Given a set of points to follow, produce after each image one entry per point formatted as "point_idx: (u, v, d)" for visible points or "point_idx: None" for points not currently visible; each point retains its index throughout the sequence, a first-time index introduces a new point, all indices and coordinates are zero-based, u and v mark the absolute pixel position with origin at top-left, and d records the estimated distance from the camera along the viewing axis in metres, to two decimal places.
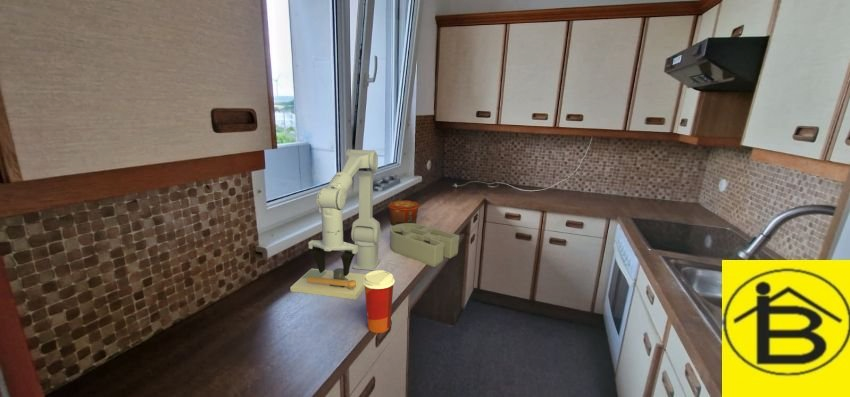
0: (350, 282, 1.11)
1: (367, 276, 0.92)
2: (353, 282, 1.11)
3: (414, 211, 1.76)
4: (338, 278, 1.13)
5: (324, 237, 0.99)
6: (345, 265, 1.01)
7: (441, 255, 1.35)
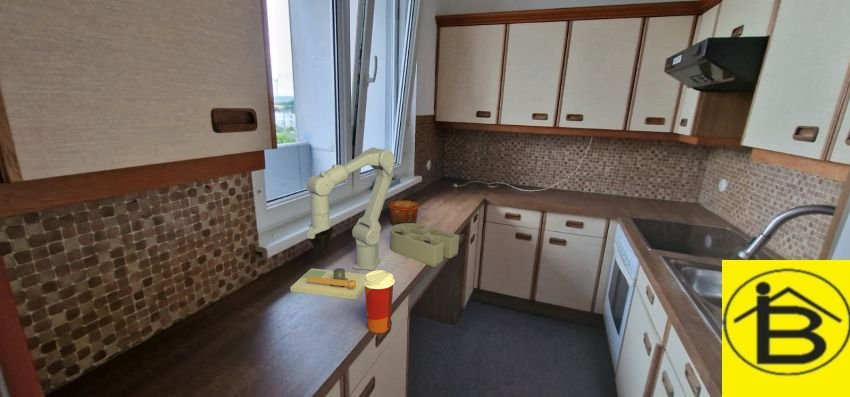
0: (350, 282, 1.11)
1: (367, 276, 0.92)
2: (353, 282, 1.11)
3: (414, 211, 1.76)
4: (338, 278, 1.13)
5: None
6: None
7: (441, 255, 1.35)
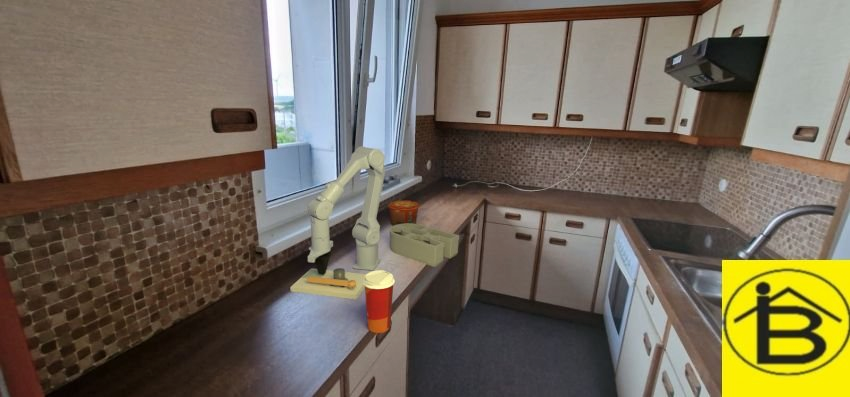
0: (350, 282, 1.11)
1: (367, 276, 0.92)
2: (353, 282, 1.11)
3: (414, 211, 1.76)
4: (338, 278, 1.13)
5: None
6: None
7: (441, 255, 1.35)
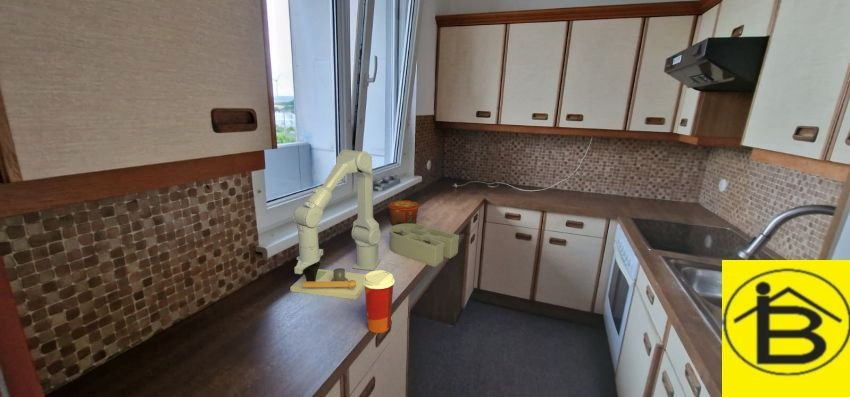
0: (350, 282, 1.11)
1: (367, 276, 0.92)
2: (353, 282, 1.11)
3: (414, 211, 1.76)
4: (338, 278, 1.13)
5: None
6: None
7: (441, 255, 1.35)
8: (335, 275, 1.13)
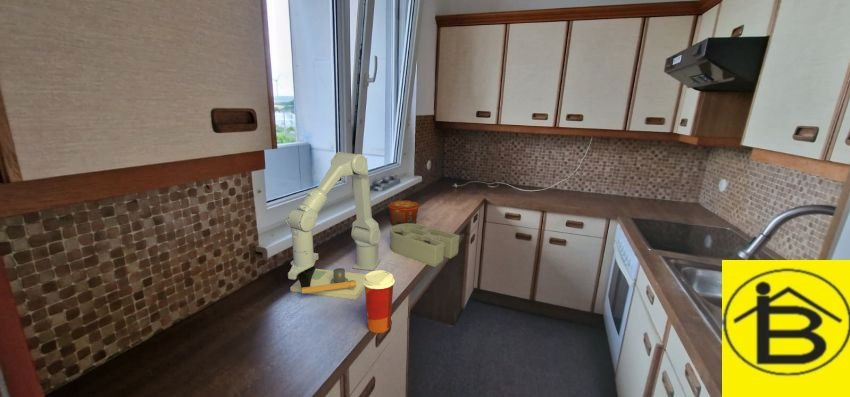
0: (350, 282, 1.11)
1: (367, 276, 0.92)
2: (353, 282, 1.11)
3: (414, 211, 1.76)
4: (338, 278, 1.13)
5: None
6: None
7: (441, 255, 1.35)
8: (335, 275, 1.13)
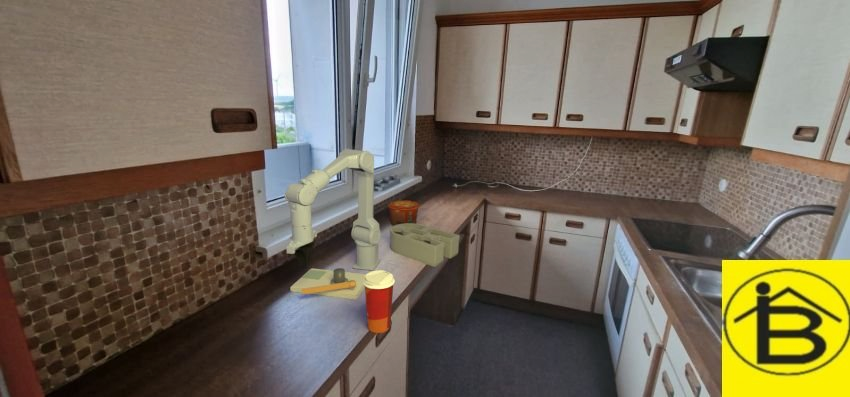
0: (350, 282, 1.11)
1: (367, 276, 0.92)
2: (353, 282, 1.11)
3: (414, 211, 1.76)
4: (338, 278, 1.13)
5: None
6: None
7: (441, 255, 1.35)
8: (335, 275, 1.13)
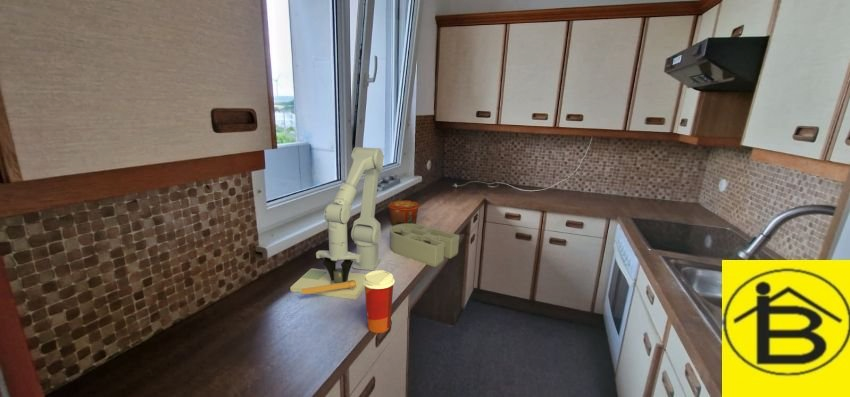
0: (350, 282, 1.11)
1: (367, 276, 0.92)
2: (353, 282, 1.11)
3: (414, 211, 1.76)
4: (338, 278, 1.13)
5: (331, 248, 1.10)
6: (344, 272, 1.12)
7: (442, 255, 1.35)
8: (335, 275, 1.13)
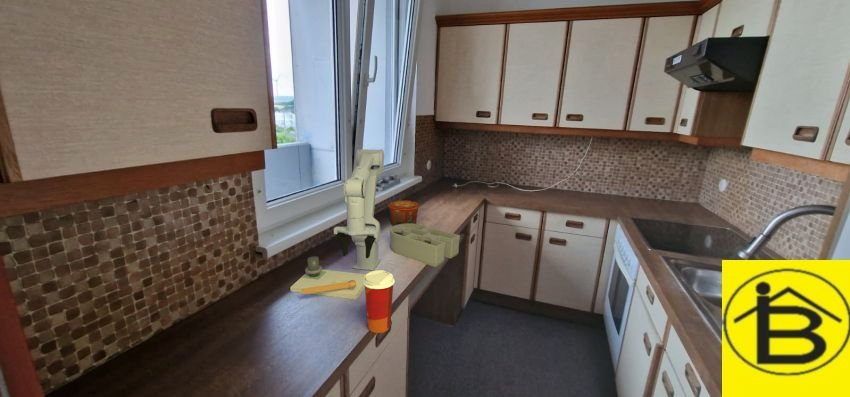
0: (350, 282, 1.11)
1: (367, 276, 0.92)
2: (353, 282, 1.11)
3: (414, 211, 1.76)
4: (312, 265, 1.18)
5: (349, 223, 1.10)
6: (367, 248, 1.12)
7: (442, 255, 1.35)
8: (309, 263, 1.18)
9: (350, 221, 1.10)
